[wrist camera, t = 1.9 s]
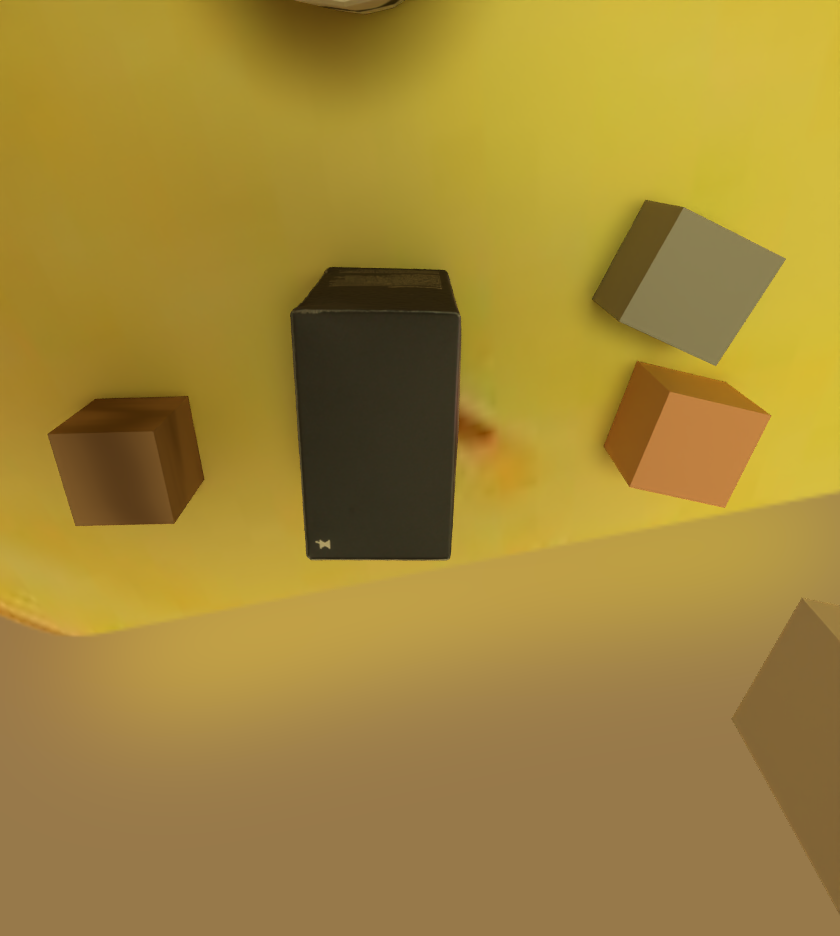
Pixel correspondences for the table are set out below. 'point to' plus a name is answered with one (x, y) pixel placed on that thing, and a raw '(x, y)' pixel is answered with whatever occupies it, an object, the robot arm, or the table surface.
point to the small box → (378, 413)
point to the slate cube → (686, 280)
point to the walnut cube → (128, 460)
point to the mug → (355, 5)
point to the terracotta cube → (683, 434)
